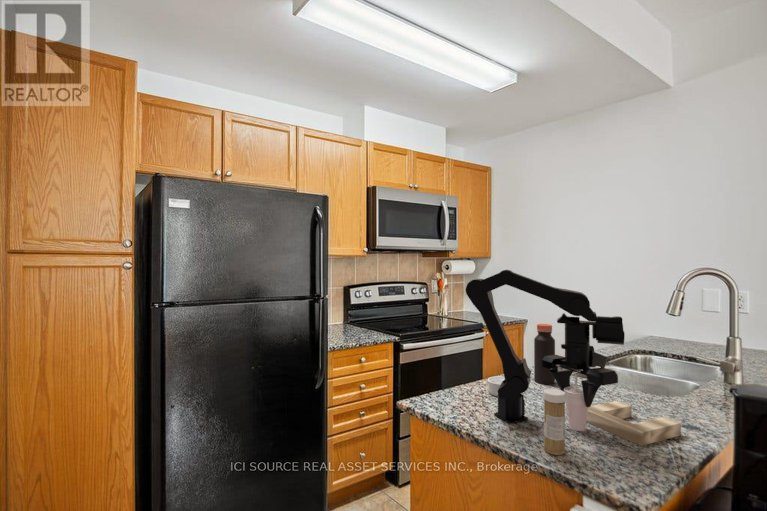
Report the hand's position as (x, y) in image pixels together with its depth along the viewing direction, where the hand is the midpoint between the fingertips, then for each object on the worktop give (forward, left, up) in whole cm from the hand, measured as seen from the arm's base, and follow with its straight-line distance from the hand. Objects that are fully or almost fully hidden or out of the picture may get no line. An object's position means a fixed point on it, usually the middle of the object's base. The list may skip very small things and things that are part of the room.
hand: (577, 402), depth 103 cm
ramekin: (0, +29, -7) cm, 30 cm away
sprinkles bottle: (-15, -7, -7) cm, 18 cm away
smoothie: (0, 0, -7) cm, 7 cm away
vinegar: (+22, +33, -7) cm, 40 cm away
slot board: (+13, -4, -6) cm, 15 cm away
